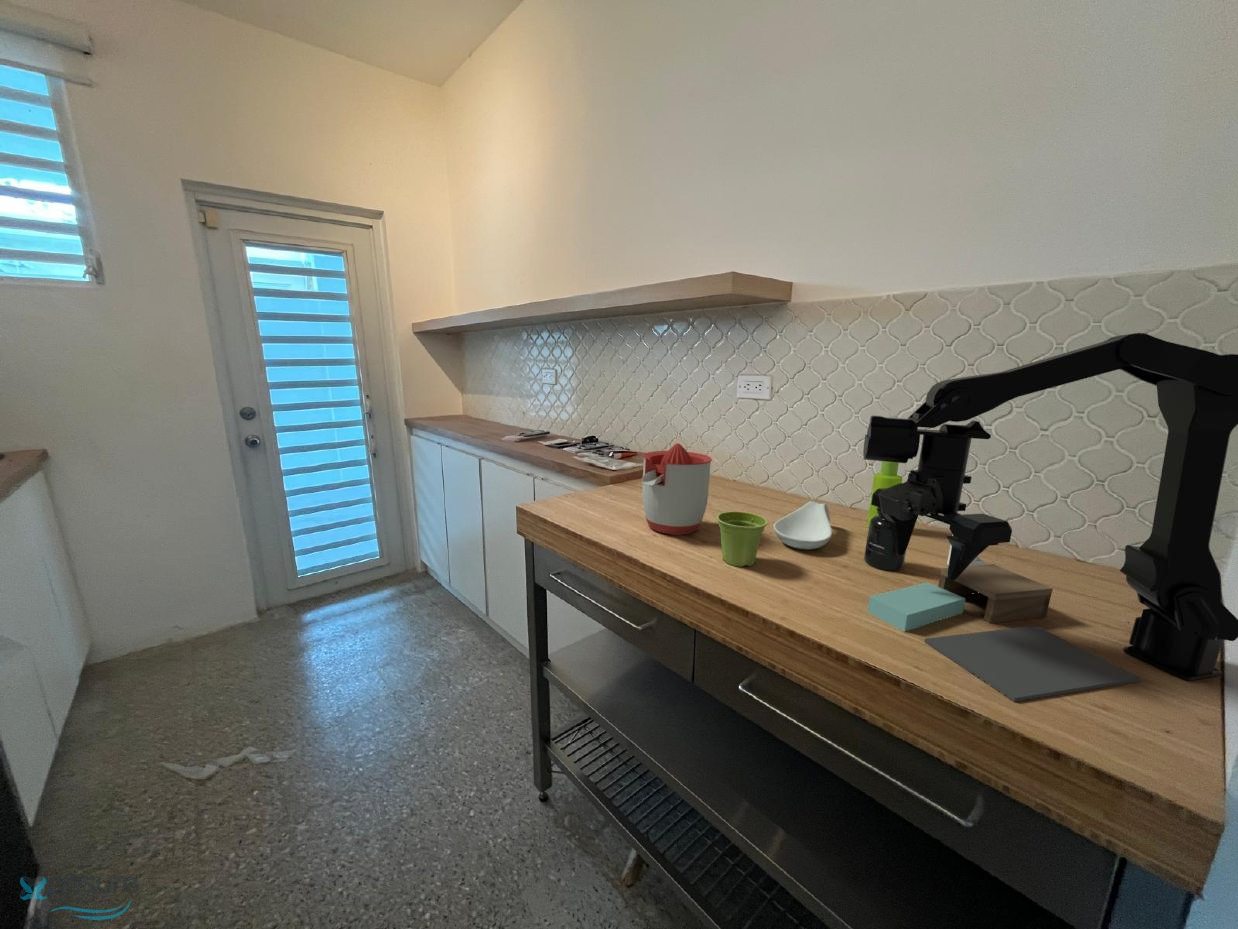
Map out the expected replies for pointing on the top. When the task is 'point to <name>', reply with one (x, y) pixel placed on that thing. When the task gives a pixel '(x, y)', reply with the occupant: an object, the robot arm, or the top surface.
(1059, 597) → the top surface
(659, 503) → the citrus juicer
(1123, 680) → the rubber mat
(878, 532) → the supplement bottle
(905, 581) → the top surface
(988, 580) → the sleeve box
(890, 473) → the soap dispenser
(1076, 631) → the top surface
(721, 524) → the plant pot
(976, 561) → the white wedge bracket
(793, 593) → the top surface
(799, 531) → the spoon rest
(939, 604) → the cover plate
